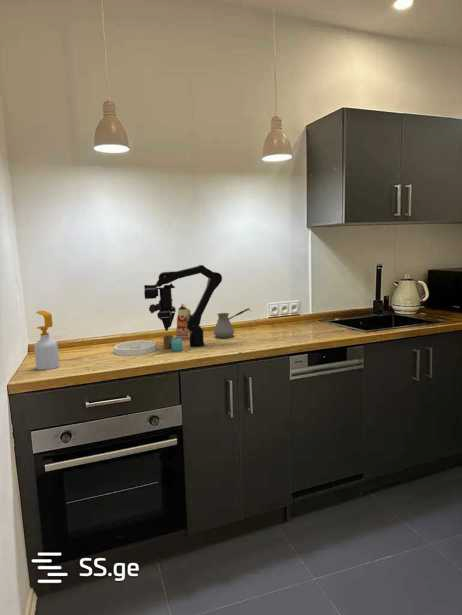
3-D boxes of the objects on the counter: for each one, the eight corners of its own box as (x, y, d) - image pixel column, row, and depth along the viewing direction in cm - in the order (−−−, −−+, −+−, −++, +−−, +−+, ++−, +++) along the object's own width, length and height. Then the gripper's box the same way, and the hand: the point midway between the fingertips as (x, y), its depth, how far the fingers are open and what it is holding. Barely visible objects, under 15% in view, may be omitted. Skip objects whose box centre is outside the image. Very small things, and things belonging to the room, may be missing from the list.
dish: (159, 345, 209) (159, 339, 208) (151, 354, 189) (151, 348, 188) (120, 346, 209) (120, 341, 208) (109, 356, 189) (108, 350, 189)
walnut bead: (174, 346, 204) (174, 334, 203) (173, 348, 199) (172, 336, 198) (164, 347, 204) (164, 335, 203) (163, 349, 199) (162, 337, 198)
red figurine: (190, 341, 215) (188, 304, 212) (174, 341, 217) (172, 304, 214) (195, 337, 224) (193, 301, 221) (180, 337, 226) (177, 302, 223)
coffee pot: (215, 339, 216) (214, 312, 214) (212, 335, 227) (210, 309, 225) (254, 336, 221) (253, 309, 219) (248, 332, 232) (247, 306, 230)
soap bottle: (46, 364, 180) (41, 309, 177) (64, 364, 177) (58, 309, 174) (31, 369, 171) (25, 312, 168) (49, 370, 169) (43, 312, 165)
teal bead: (182, 349, 197) (182, 337, 196) (181, 351, 192) (180, 339, 191) (172, 349, 197) (171, 337, 196) (171, 352, 192) (170, 339, 191)
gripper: (153, 296, 208) (155, 326, 210) (145, 300, 189) (148, 333, 191) (174, 295, 208) (176, 325, 210) (169, 299, 189) (171, 332, 191)
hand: (168, 328), depth 200 cm, fingers open, 9 cm apart
